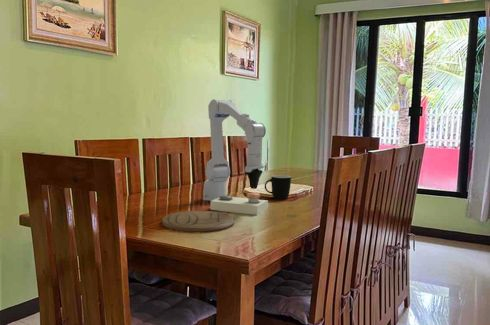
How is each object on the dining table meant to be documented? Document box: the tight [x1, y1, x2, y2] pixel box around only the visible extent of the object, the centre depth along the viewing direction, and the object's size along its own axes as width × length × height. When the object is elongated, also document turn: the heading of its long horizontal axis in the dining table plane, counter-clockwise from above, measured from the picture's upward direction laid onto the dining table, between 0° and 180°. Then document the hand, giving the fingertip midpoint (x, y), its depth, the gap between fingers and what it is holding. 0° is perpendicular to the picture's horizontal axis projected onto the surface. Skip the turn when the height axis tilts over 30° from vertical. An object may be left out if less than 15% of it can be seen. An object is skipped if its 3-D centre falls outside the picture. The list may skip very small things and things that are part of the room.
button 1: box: [220, 194, 233, 201], centre depth 180 cm, size 5×5×4 cm
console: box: [209, 196, 269, 216], centre depth 178 cm, size 20×12×4 cm, turn 68°
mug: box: [264, 174, 292, 200], centre depth 204 cm, size 12×9×10 cm
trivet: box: [161, 210, 235, 234], centre depth 155 cm, size 25×25×2 cm
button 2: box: [246, 192, 261, 204], centre depth 175 cm, size 5×5×4 cm
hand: (253, 188), depth 175 cm, fingers closed
